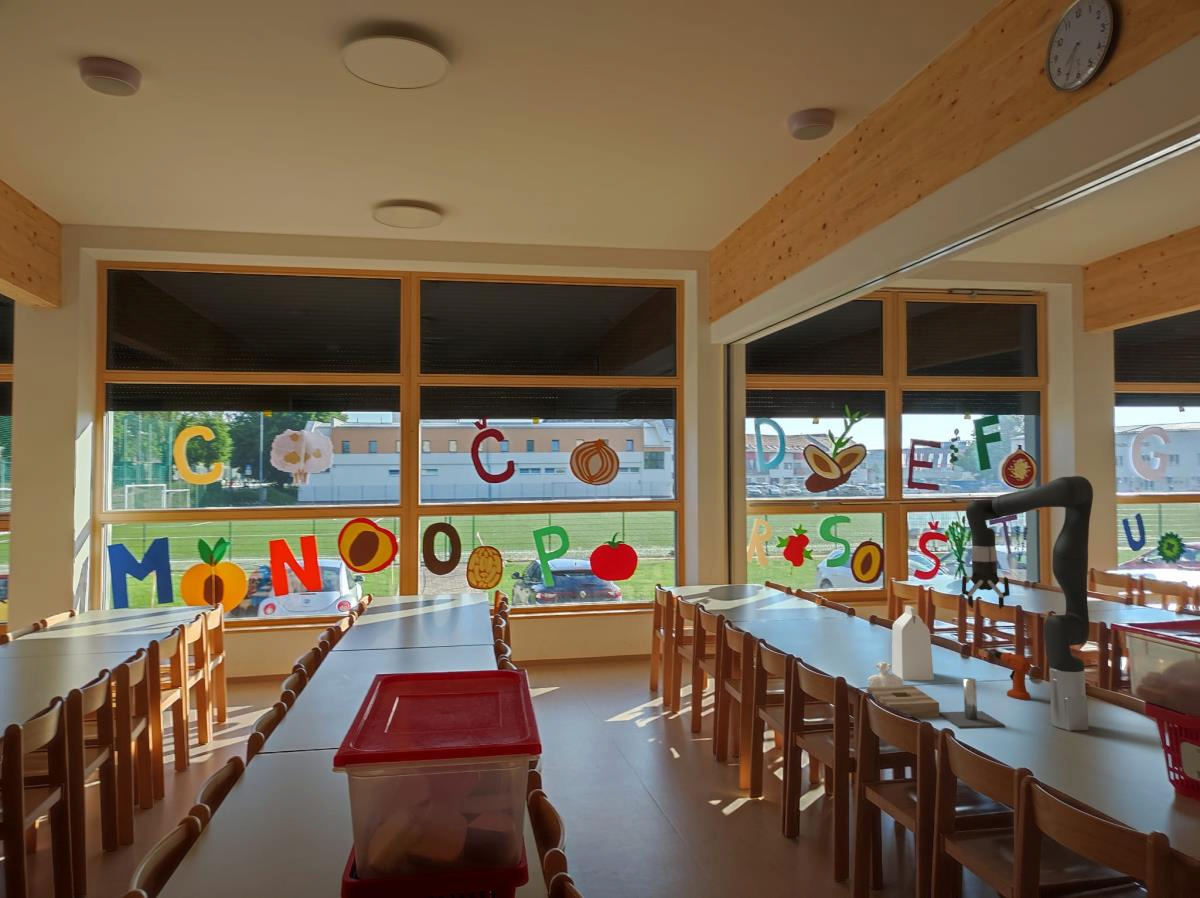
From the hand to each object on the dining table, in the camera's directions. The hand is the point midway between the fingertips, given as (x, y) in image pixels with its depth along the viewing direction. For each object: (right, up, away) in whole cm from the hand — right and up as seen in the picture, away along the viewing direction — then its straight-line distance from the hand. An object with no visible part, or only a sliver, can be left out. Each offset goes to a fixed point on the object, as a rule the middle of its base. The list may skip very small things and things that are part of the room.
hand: (985, 607), depth 263 cm
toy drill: (+12, -32, +10) cm, 35 cm away
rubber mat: (-13, -31, -18) cm, 39 cm away
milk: (-10, -33, +36) cm, 50 cm away
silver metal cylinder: (-13, -31, -18) cm, 38 cm away
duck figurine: (-28, -33, +16) cm, 46 cm away
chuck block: (-30, -32, -4) cm, 44 cm away
